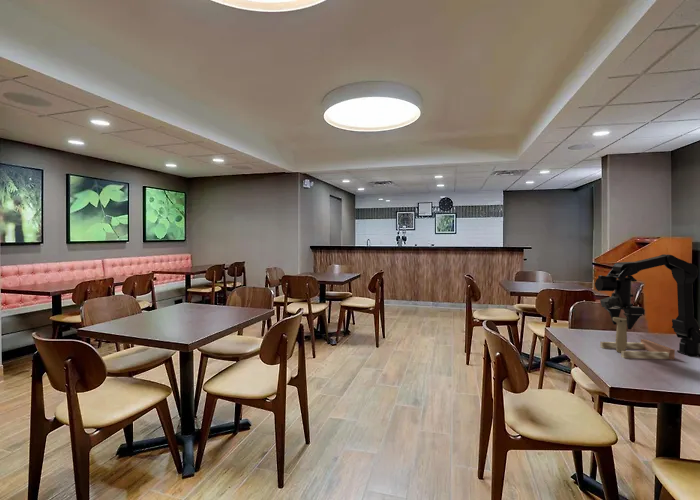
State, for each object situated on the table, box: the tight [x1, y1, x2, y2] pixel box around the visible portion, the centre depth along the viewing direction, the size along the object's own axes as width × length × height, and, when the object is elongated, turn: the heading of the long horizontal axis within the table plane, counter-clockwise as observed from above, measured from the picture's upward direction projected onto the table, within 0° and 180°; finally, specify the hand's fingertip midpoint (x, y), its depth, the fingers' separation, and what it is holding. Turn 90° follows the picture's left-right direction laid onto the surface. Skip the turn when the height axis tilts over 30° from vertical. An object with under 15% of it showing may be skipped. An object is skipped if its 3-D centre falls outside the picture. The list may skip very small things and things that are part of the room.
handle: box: [613, 316, 628, 354], centre depth 159 cm, size 5×6×15 cm
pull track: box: [599, 338, 676, 360], centre depth 159 cm, size 20×16×4 cm
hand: (621, 326), depth 159 cm, fingers open, 9 cm apart
